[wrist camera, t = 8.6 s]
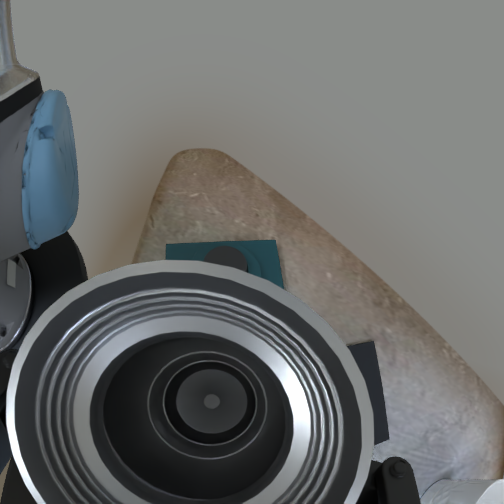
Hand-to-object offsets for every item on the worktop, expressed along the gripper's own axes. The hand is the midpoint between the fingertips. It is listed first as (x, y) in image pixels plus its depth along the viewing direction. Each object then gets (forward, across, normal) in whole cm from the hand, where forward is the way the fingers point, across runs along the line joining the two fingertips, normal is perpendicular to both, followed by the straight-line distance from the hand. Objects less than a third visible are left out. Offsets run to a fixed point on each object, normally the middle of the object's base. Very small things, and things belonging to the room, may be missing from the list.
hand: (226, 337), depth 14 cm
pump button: (+14, -2, -2) cm, 14 cm away
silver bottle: (+4, 0, -9) cm, 9 cm away
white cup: (0, +31, -21) cm, 37 cm away
